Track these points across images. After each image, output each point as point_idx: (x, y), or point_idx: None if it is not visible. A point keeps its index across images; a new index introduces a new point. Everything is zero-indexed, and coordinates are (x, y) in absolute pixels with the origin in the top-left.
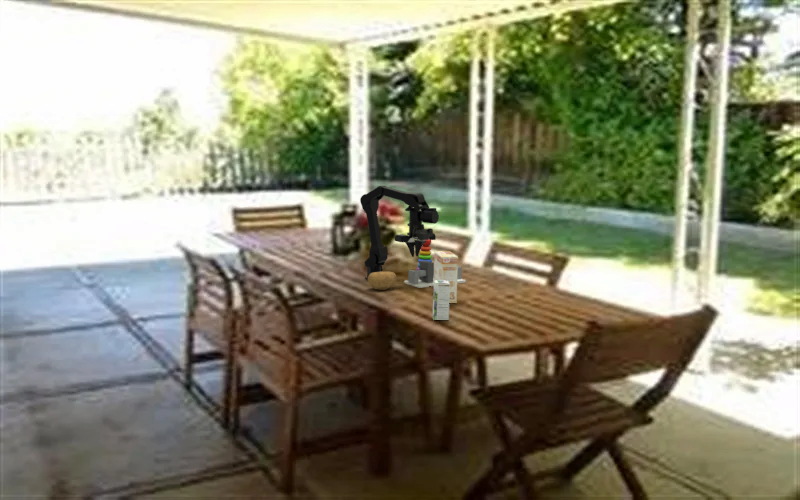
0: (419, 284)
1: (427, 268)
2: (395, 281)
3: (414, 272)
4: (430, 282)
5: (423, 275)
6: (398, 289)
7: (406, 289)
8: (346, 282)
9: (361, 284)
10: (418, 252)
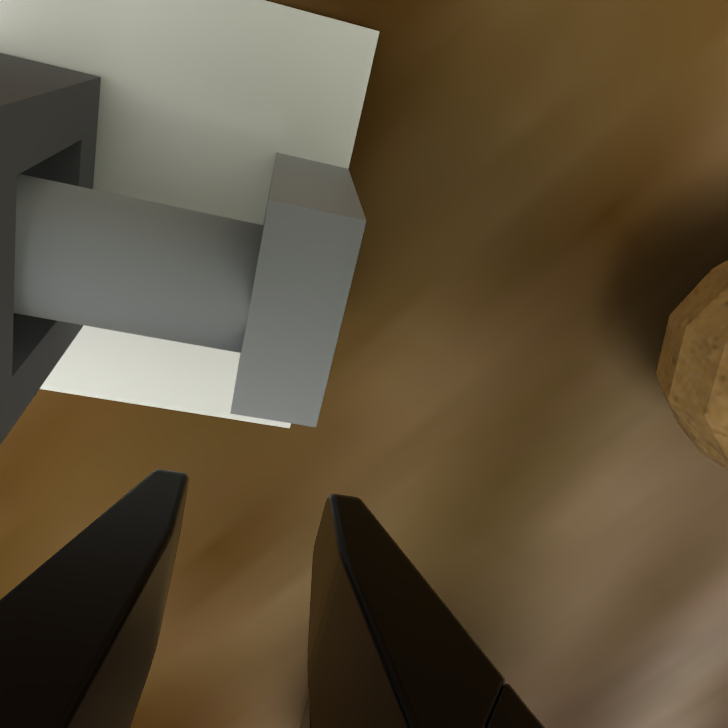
0: (302, 98)
1: (8, 134)
2: (721, 265)
3: (361, 233)
4: None
5: (109, 193)
6: (677, 170)
7: (606, 88)
8: (691, 724)
9: (687, 609)
10: (127, 541)
